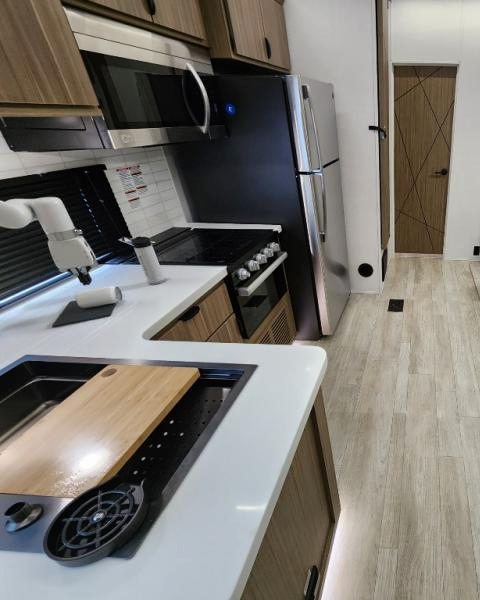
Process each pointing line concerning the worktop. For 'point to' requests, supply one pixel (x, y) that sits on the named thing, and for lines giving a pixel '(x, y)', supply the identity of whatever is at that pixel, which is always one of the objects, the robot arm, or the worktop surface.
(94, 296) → the can
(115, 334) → the worktop surface
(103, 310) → the mat
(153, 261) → the travel mug
